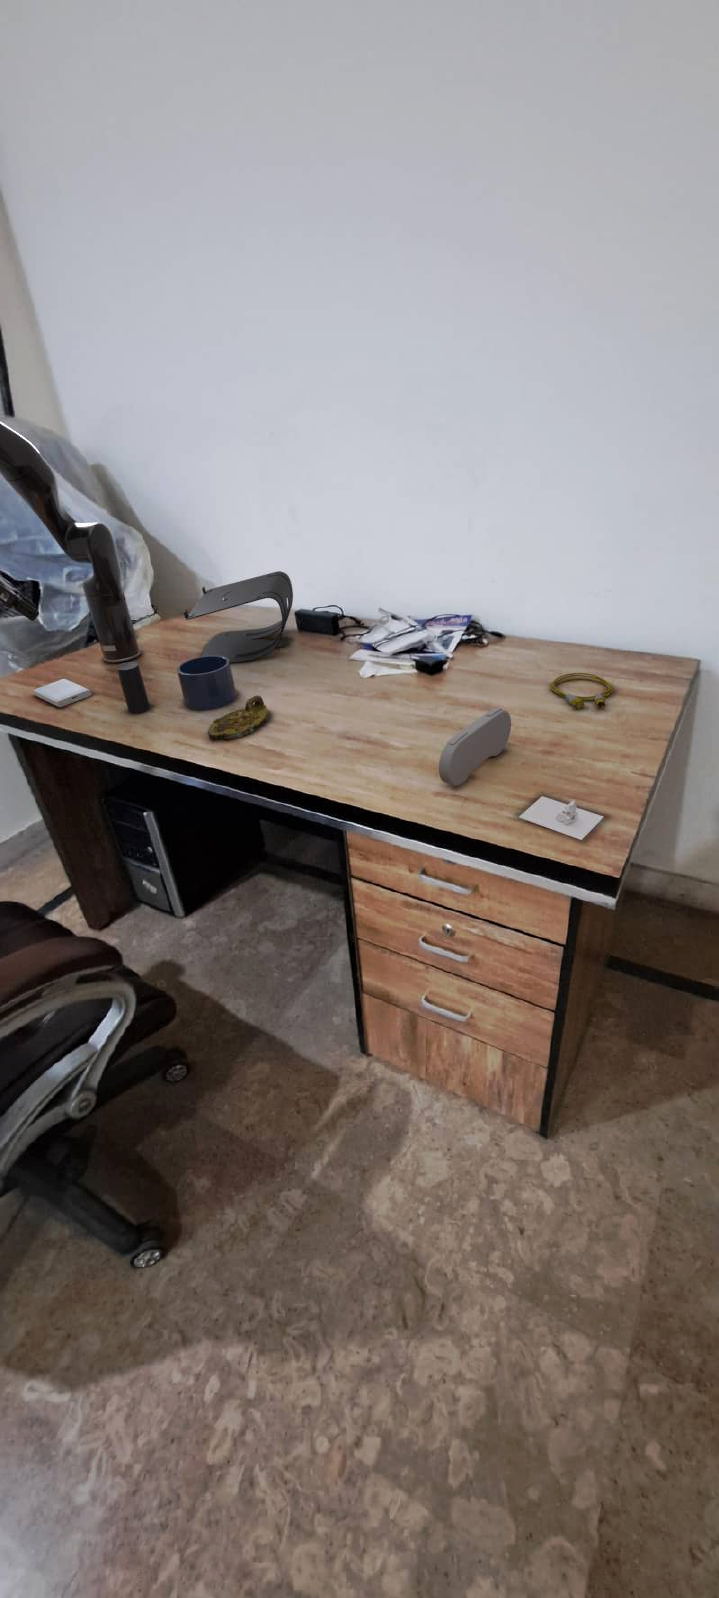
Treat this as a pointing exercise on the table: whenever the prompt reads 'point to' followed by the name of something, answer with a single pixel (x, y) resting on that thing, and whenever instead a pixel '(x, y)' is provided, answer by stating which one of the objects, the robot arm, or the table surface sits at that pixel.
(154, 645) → the table surface
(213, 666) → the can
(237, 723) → the bronze pendant
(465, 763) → the game controller
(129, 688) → the canister
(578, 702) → the extension cord
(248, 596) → the laptop stand
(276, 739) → the table surface
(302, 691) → the table surface
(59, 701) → the hard drive
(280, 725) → the table surface
